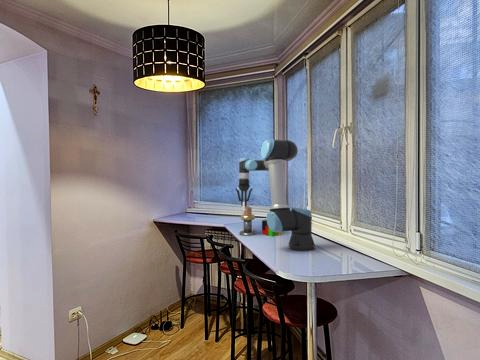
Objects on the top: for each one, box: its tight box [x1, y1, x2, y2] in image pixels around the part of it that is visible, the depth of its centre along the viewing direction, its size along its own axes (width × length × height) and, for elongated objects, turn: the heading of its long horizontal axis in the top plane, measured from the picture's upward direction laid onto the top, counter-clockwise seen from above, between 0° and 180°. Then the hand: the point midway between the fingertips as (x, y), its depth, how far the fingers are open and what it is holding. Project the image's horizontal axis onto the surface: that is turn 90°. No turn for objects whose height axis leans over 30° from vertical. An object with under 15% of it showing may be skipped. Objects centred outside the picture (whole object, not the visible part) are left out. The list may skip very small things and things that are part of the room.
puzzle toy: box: [261, 219, 283, 237], centre depth 224 cm, size 10×10×10 cm
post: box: [238, 220, 257, 237], centre depth 225 cm, size 12×12×11 cm
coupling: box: [240, 205, 256, 221], centre depth 225 cm, size 17×10×9 cm, turn 7°
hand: (243, 210), depth 231 cm, fingers closed
